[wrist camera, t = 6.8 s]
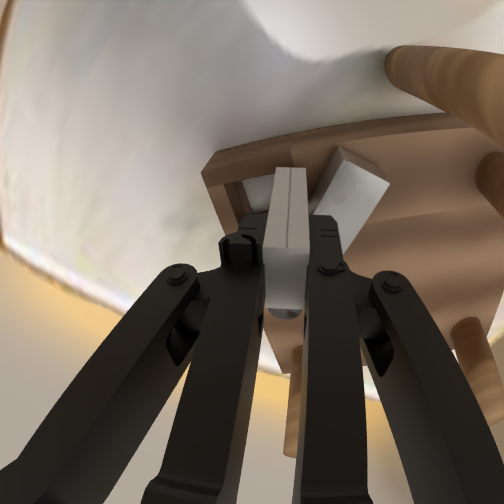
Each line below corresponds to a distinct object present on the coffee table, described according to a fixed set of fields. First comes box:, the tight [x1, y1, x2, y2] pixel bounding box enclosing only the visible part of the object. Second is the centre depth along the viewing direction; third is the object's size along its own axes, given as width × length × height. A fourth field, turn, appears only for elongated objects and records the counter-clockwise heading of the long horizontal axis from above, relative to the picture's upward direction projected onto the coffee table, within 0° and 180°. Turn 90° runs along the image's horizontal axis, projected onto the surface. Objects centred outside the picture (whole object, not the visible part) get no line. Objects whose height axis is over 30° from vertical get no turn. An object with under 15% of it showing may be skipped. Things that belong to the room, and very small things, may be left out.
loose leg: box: [385, 46, 504, 147], centre depth 9 cm, size 3×3×12 cm
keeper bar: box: [268, 146, 390, 320], centre depth 16 cm, size 10×2×3 cm, turn 159°
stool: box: [201, 113, 504, 458], centre depth 17 cm, size 20×20×12 cm
